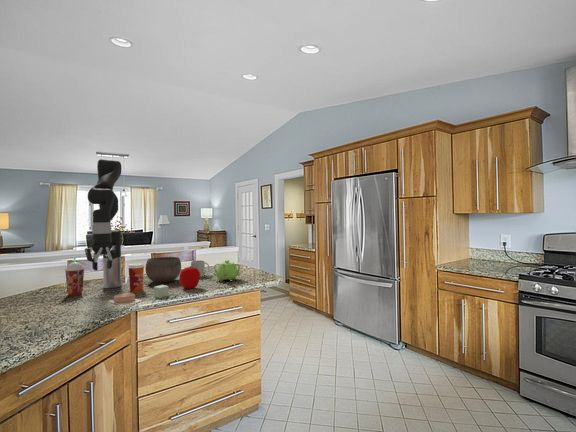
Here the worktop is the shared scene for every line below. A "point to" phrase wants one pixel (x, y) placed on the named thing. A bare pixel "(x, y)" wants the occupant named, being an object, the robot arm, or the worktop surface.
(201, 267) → the mug
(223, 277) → the teapot
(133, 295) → the peach domed disc
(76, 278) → the smoothie
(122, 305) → the mat
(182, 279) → the tomato
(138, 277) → the coffee cup
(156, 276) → the bowl
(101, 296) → the worktop surface
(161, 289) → the cube
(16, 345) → the worktop surface
